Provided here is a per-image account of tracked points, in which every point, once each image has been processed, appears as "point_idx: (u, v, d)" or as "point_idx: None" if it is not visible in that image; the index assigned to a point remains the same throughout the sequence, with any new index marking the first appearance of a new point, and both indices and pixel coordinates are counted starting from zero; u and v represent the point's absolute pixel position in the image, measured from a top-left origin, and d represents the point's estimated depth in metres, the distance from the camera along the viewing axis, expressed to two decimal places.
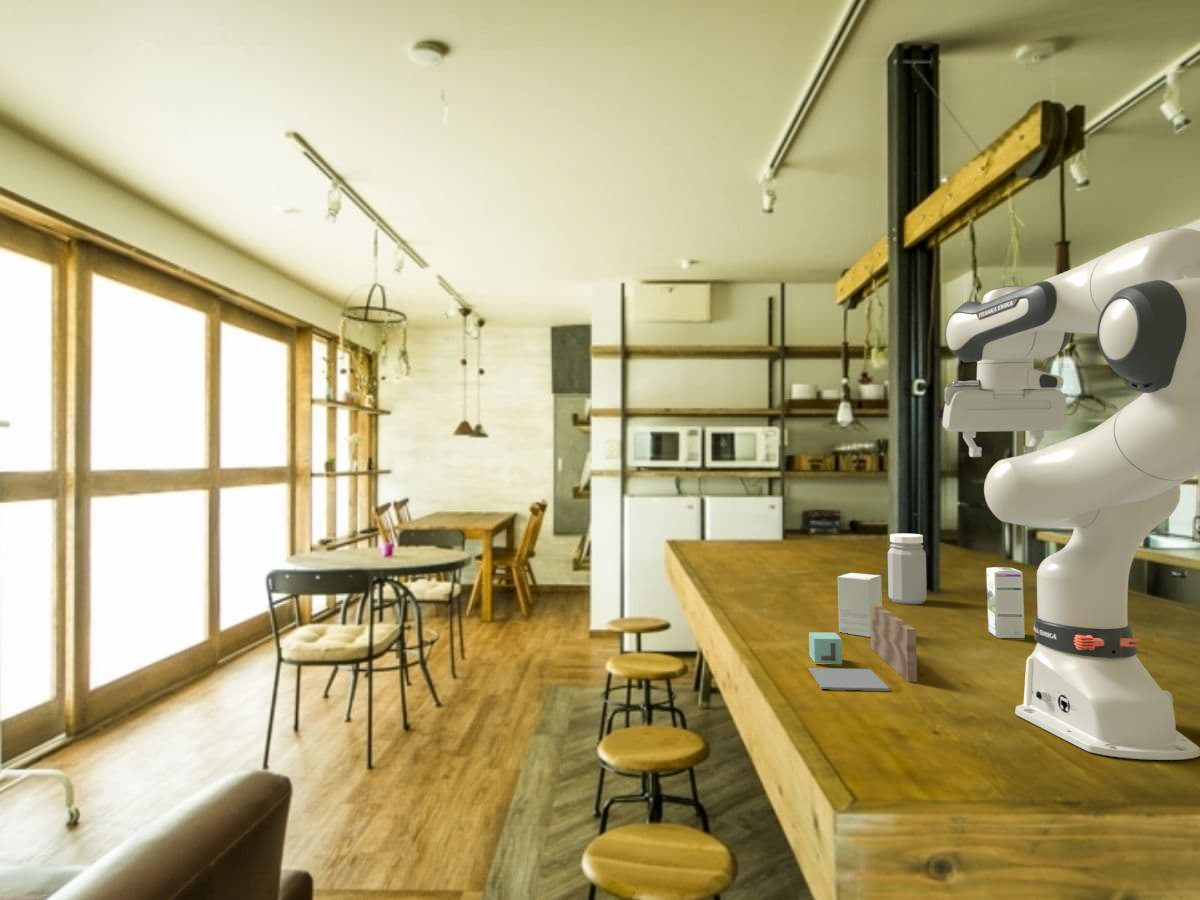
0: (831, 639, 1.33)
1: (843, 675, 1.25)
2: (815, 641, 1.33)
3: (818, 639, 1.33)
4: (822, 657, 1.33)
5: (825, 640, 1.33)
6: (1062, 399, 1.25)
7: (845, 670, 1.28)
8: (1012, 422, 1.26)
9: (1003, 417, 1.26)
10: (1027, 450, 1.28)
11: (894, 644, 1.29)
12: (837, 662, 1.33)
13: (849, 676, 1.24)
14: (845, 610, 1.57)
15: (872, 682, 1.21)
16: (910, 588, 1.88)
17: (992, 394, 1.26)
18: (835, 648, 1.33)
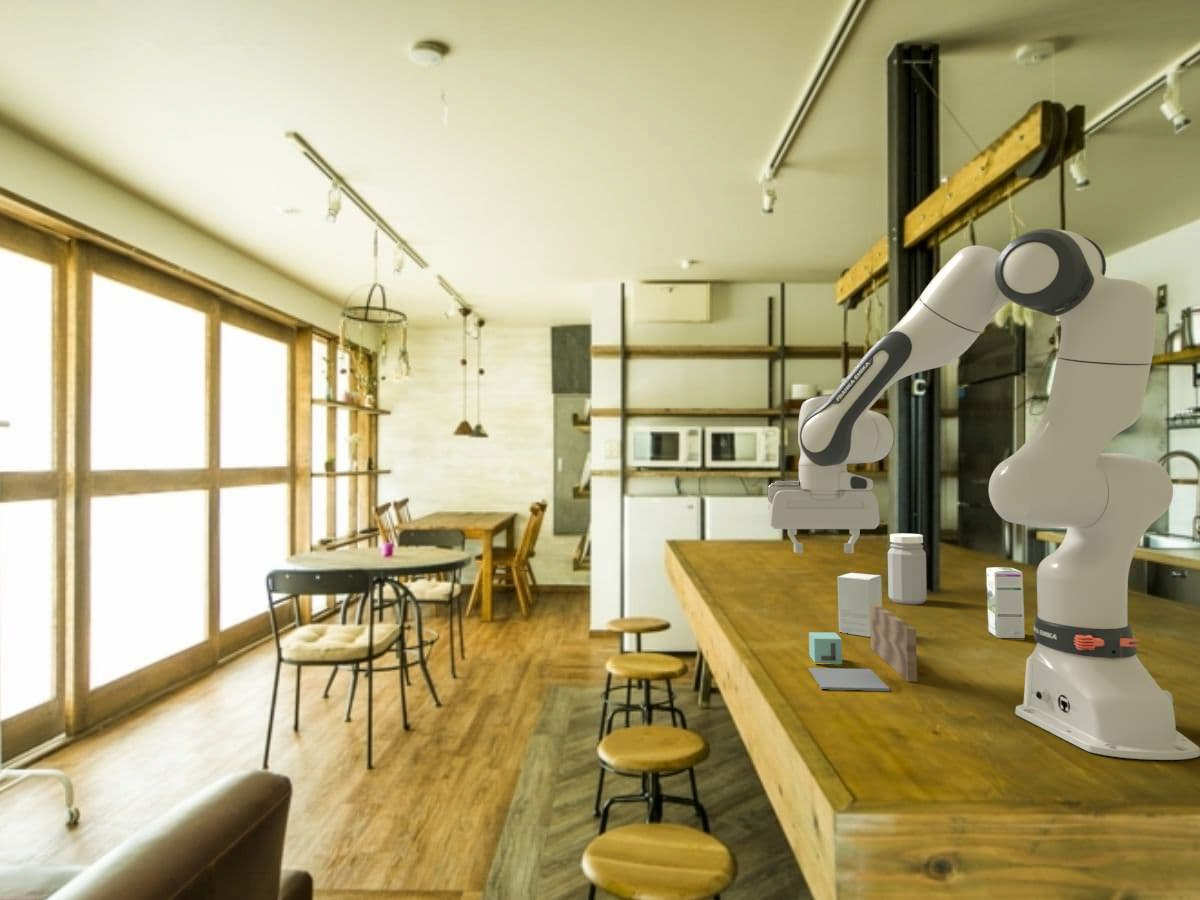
0: (831, 639, 1.33)
1: (843, 675, 1.25)
2: (815, 641, 1.33)
3: (818, 639, 1.33)
4: (822, 657, 1.33)
5: (825, 640, 1.33)
6: (873, 500, 1.33)
7: (845, 670, 1.28)
8: (829, 520, 1.34)
9: (821, 516, 1.34)
10: (845, 547, 1.35)
11: (894, 644, 1.29)
12: (837, 662, 1.33)
13: (849, 676, 1.24)
14: (845, 610, 1.57)
15: (872, 682, 1.21)
16: (910, 588, 1.88)
17: (809, 494, 1.34)
18: (835, 648, 1.33)
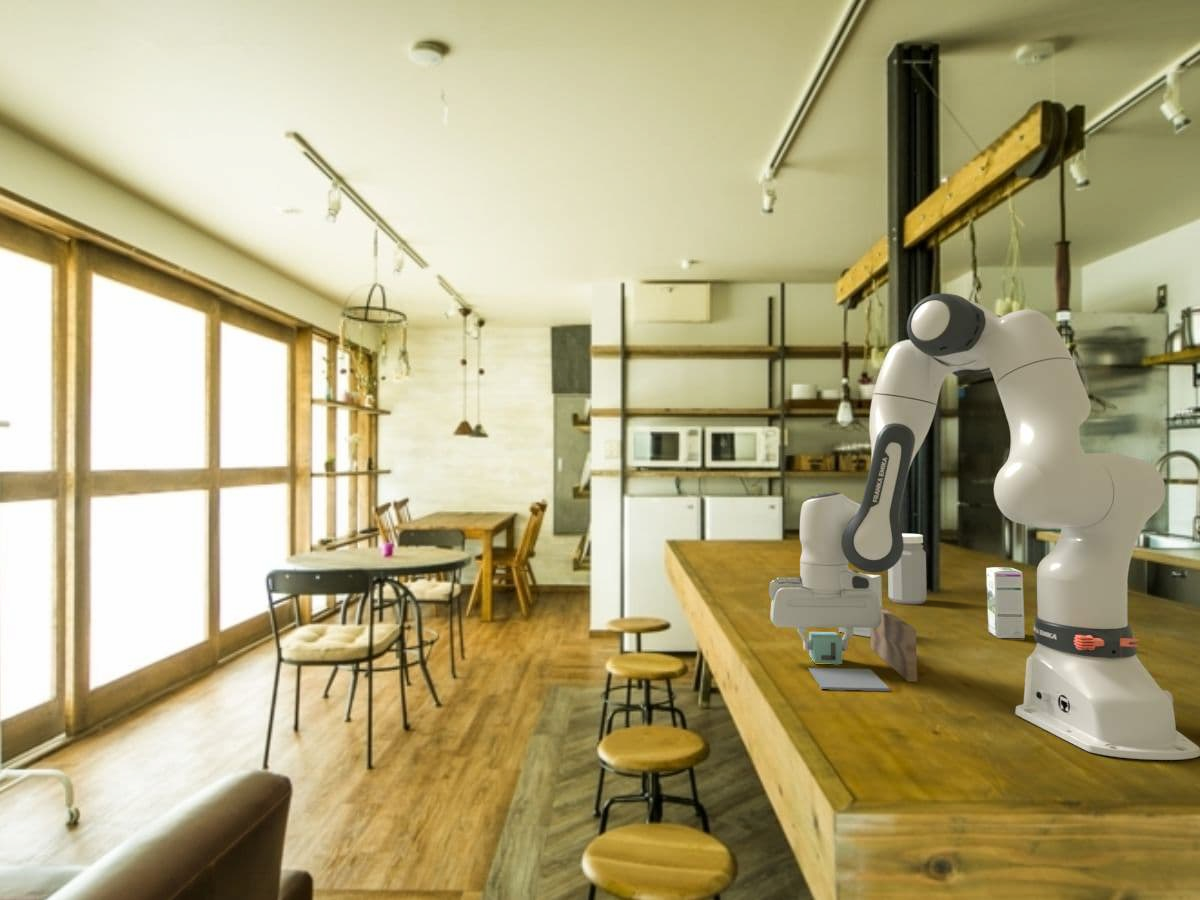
0: (831, 638, 1.33)
1: (843, 675, 1.25)
2: (815, 640, 1.33)
3: (818, 638, 1.33)
4: (822, 656, 1.33)
5: (825, 639, 1.33)
6: (875, 599, 1.32)
7: (845, 670, 1.28)
8: (830, 619, 1.34)
9: (822, 614, 1.34)
10: None
11: (894, 644, 1.29)
12: (837, 661, 1.33)
13: (849, 676, 1.24)
14: None
15: (872, 682, 1.21)
16: (910, 588, 1.88)
17: (811, 592, 1.34)
18: (835, 647, 1.33)
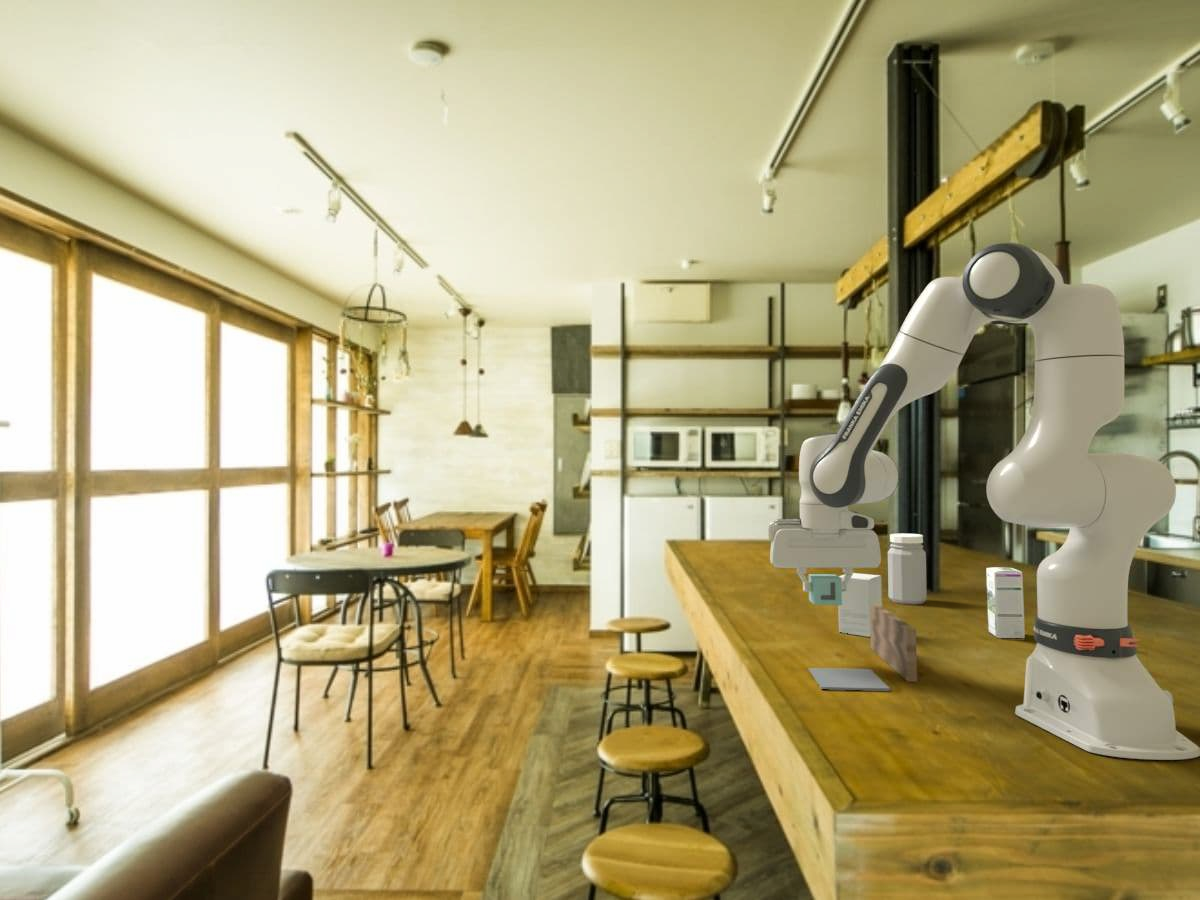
0: (831, 578, 1.33)
1: (843, 675, 1.25)
2: (815, 580, 1.33)
3: (818, 579, 1.33)
4: (822, 596, 1.33)
5: (825, 579, 1.33)
6: (874, 539, 1.33)
7: (845, 670, 1.28)
8: (830, 559, 1.34)
9: (822, 554, 1.34)
10: None
11: (894, 644, 1.29)
12: (837, 601, 1.33)
13: (849, 676, 1.24)
14: (845, 610, 1.57)
15: (872, 682, 1.21)
16: (910, 588, 1.88)
17: (811, 533, 1.34)
18: (834, 587, 1.33)
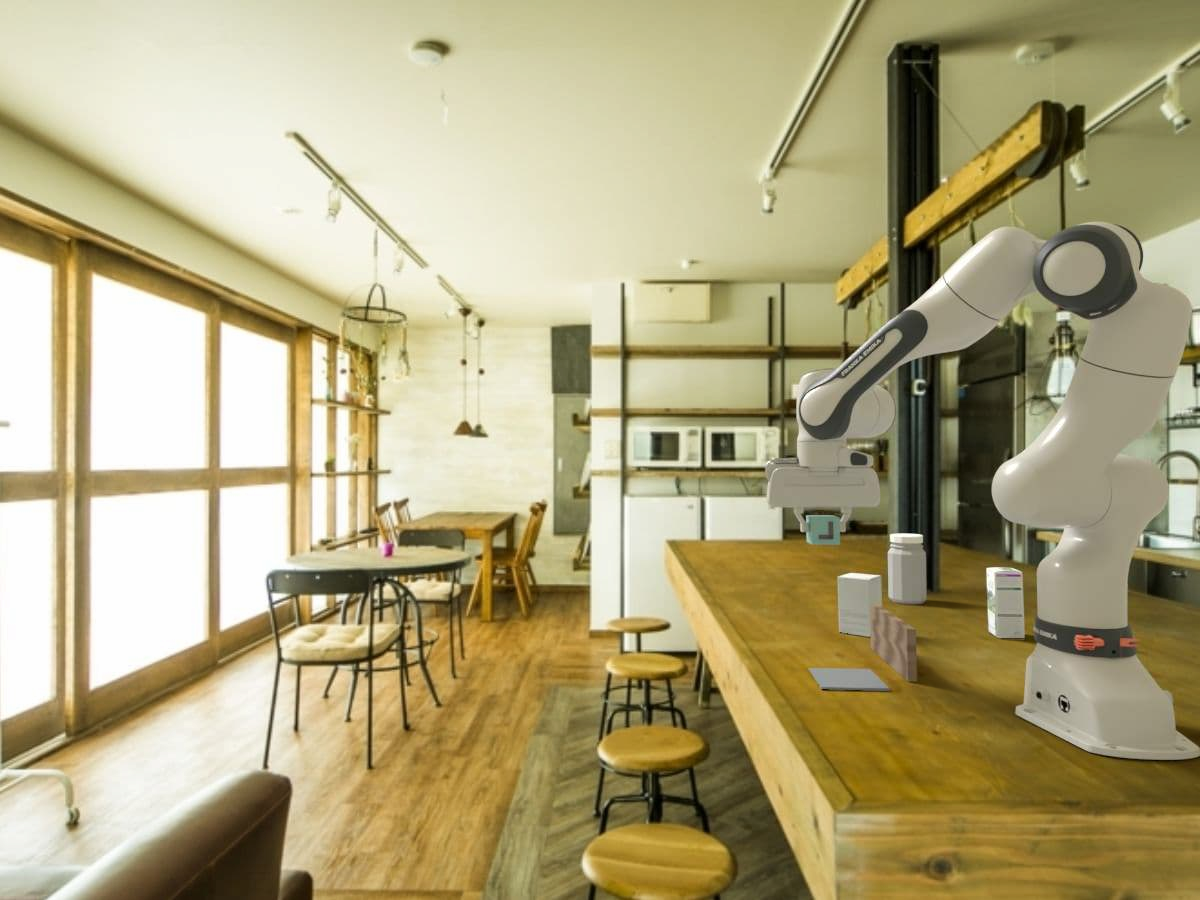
0: (829, 518, 1.30)
1: (843, 675, 1.25)
2: (812, 520, 1.30)
3: (815, 518, 1.30)
4: (819, 536, 1.29)
5: (823, 518, 1.30)
6: (873, 477, 1.29)
7: (845, 670, 1.28)
8: (828, 498, 1.30)
9: (820, 493, 1.30)
10: None
11: (894, 644, 1.29)
12: (835, 541, 1.29)
13: (849, 676, 1.24)
14: (845, 610, 1.57)
15: (872, 682, 1.21)
16: (910, 588, 1.87)
17: (808, 471, 1.31)
18: (833, 526, 1.29)
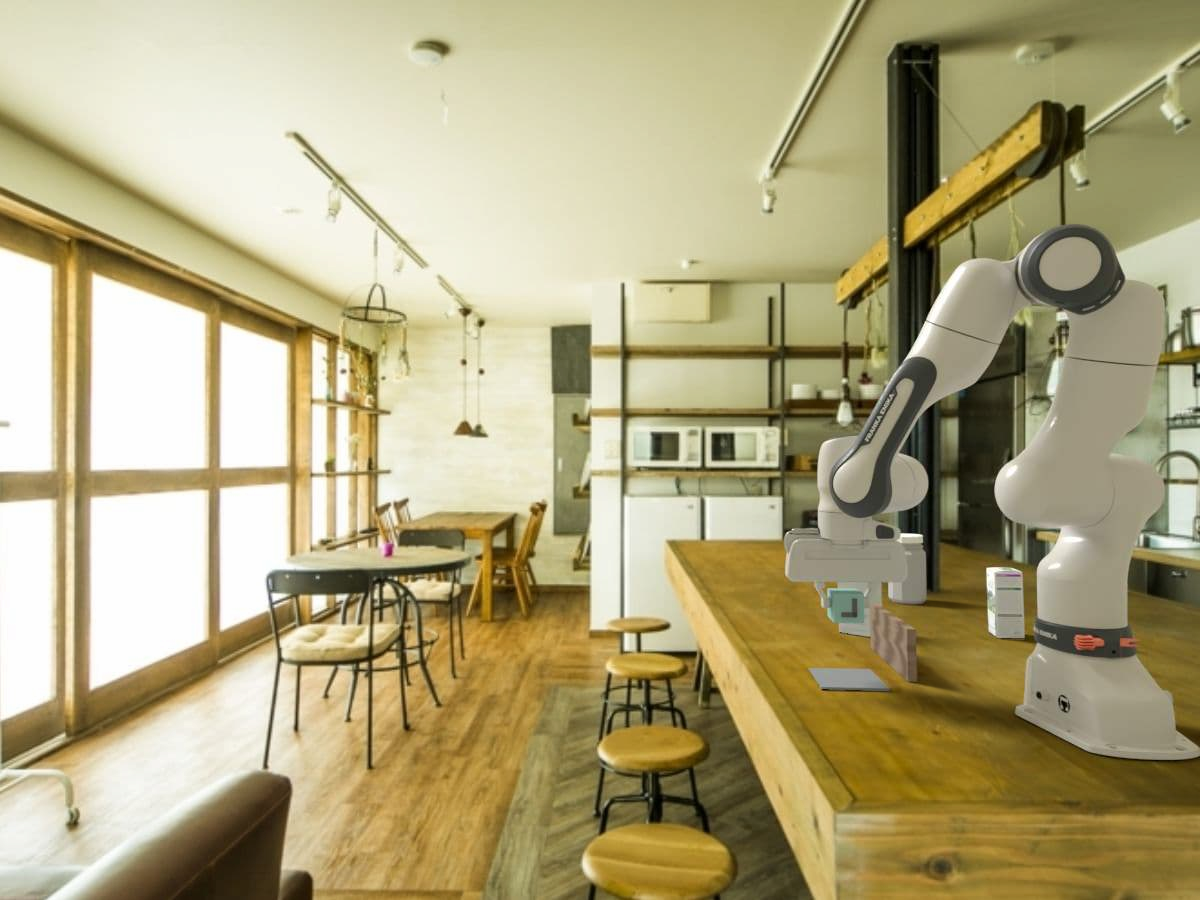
0: (852, 594, 1.21)
1: (843, 675, 1.25)
2: (835, 596, 1.21)
3: (838, 594, 1.21)
4: (842, 614, 1.21)
5: (846, 595, 1.21)
6: (900, 551, 1.21)
7: (845, 670, 1.28)
8: (851, 573, 1.22)
9: (843, 567, 1.22)
10: None
11: (894, 644, 1.29)
12: (859, 619, 1.21)
13: (849, 676, 1.24)
14: None
15: (872, 682, 1.21)
16: (910, 588, 1.88)
17: (830, 543, 1.22)
18: (856, 603, 1.21)
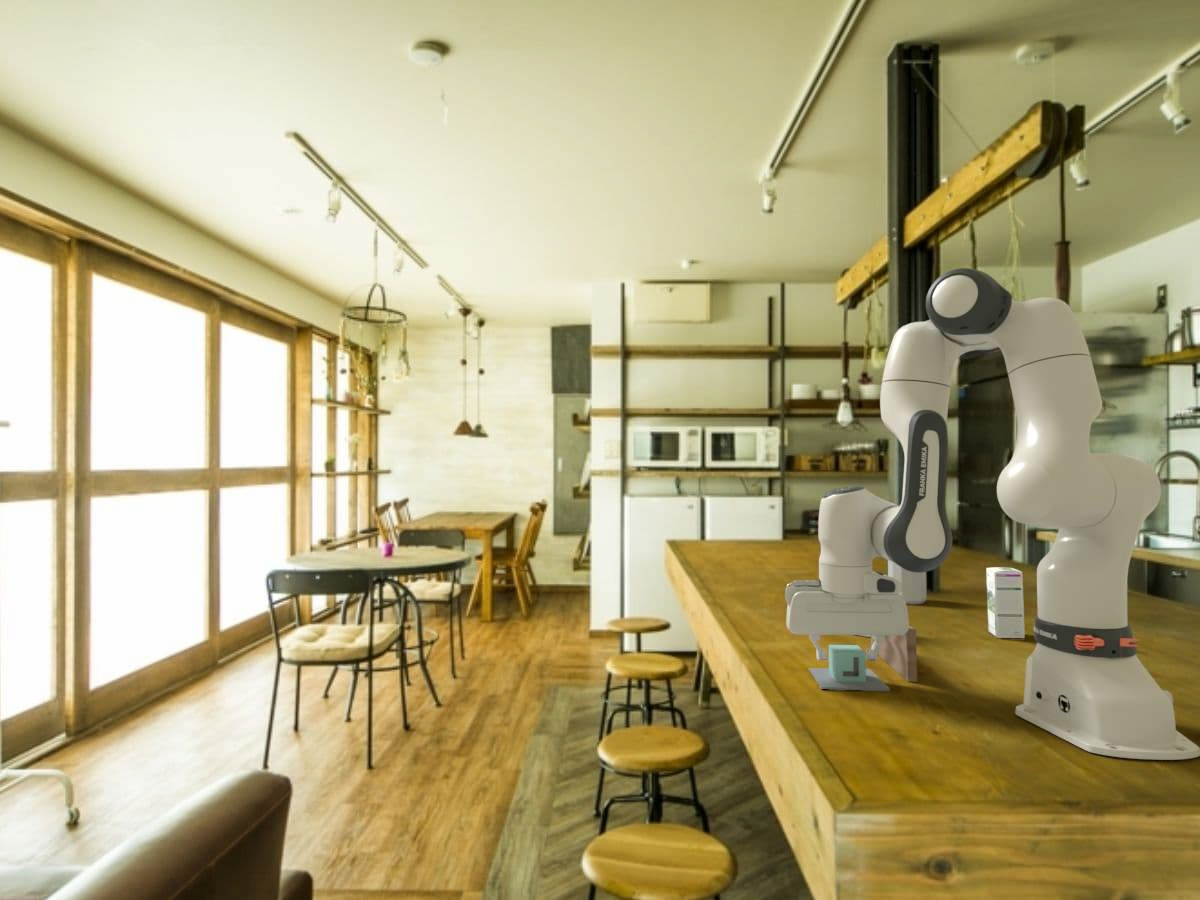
0: (854, 653, 1.21)
1: None
2: (836, 655, 1.21)
3: (839, 653, 1.21)
4: (844, 673, 1.21)
5: (847, 653, 1.21)
6: (902, 604, 1.20)
7: None
8: (853, 626, 1.22)
9: (844, 620, 1.22)
10: (868, 654, 1.23)
11: (894, 644, 1.29)
12: (860, 678, 1.21)
13: None
14: None
15: (872, 682, 1.21)
16: (910, 588, 1.88)
17: (831, 596, 1.22)
18: (858, 662, 1.21)
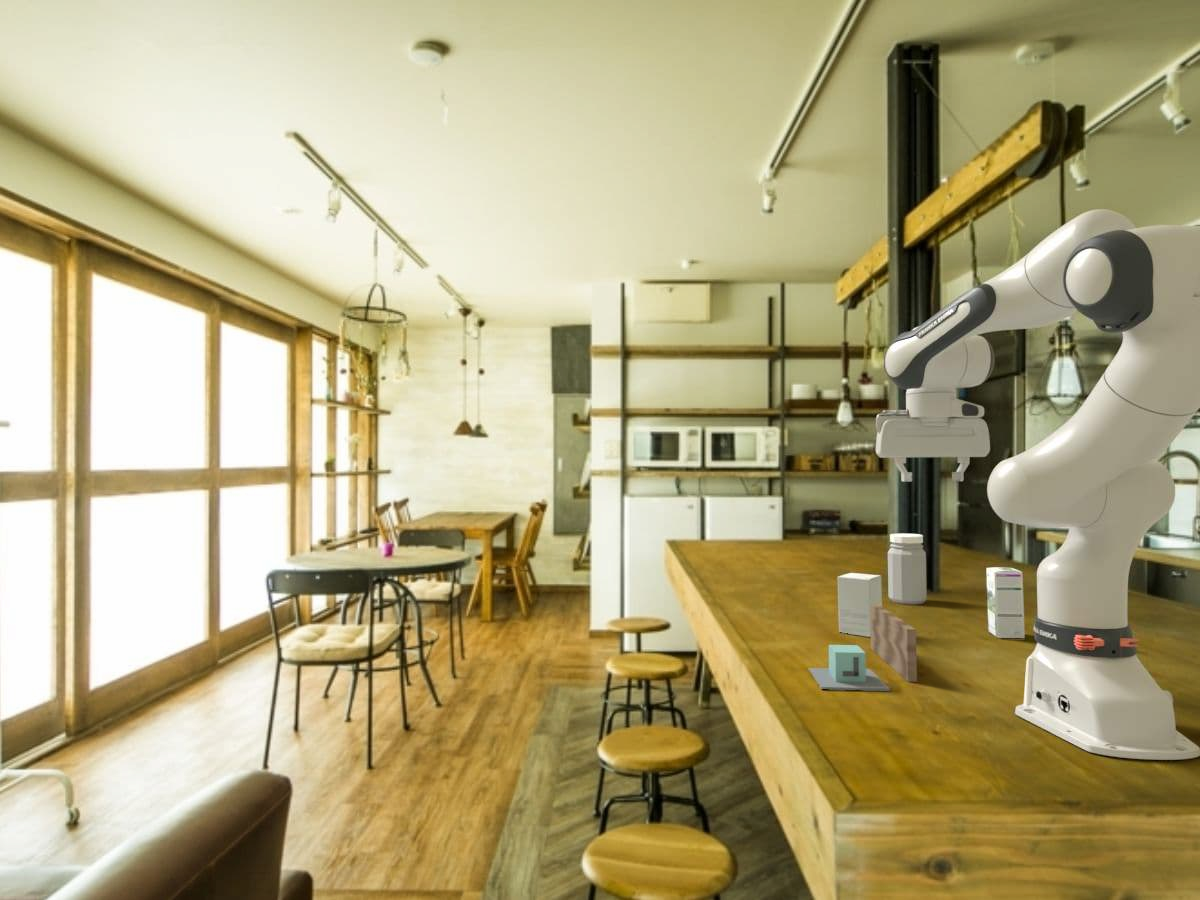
0: (854, 653, 1.21)
1: None
2: (836, 655, 1.21)
3: (839, 653, 1.21)
4: (844, 673, 1.21)
5: (847, 653, 1.21)
6: (984, 427, 1.33)
7: None
8: (939, 448, 1.34)
9: (930, 444, 1.35)
10: (955, 475, 1.35)
11: (894, 644, 1.29)
12: (860, 678, 1.21)
13: None
14: (845, 610, 1.57)
15: (872, 682, 1.21)
16: (910, 588, 1.88)
17: (919, 422, 1.35)
18: (858, 662, 1.21)
